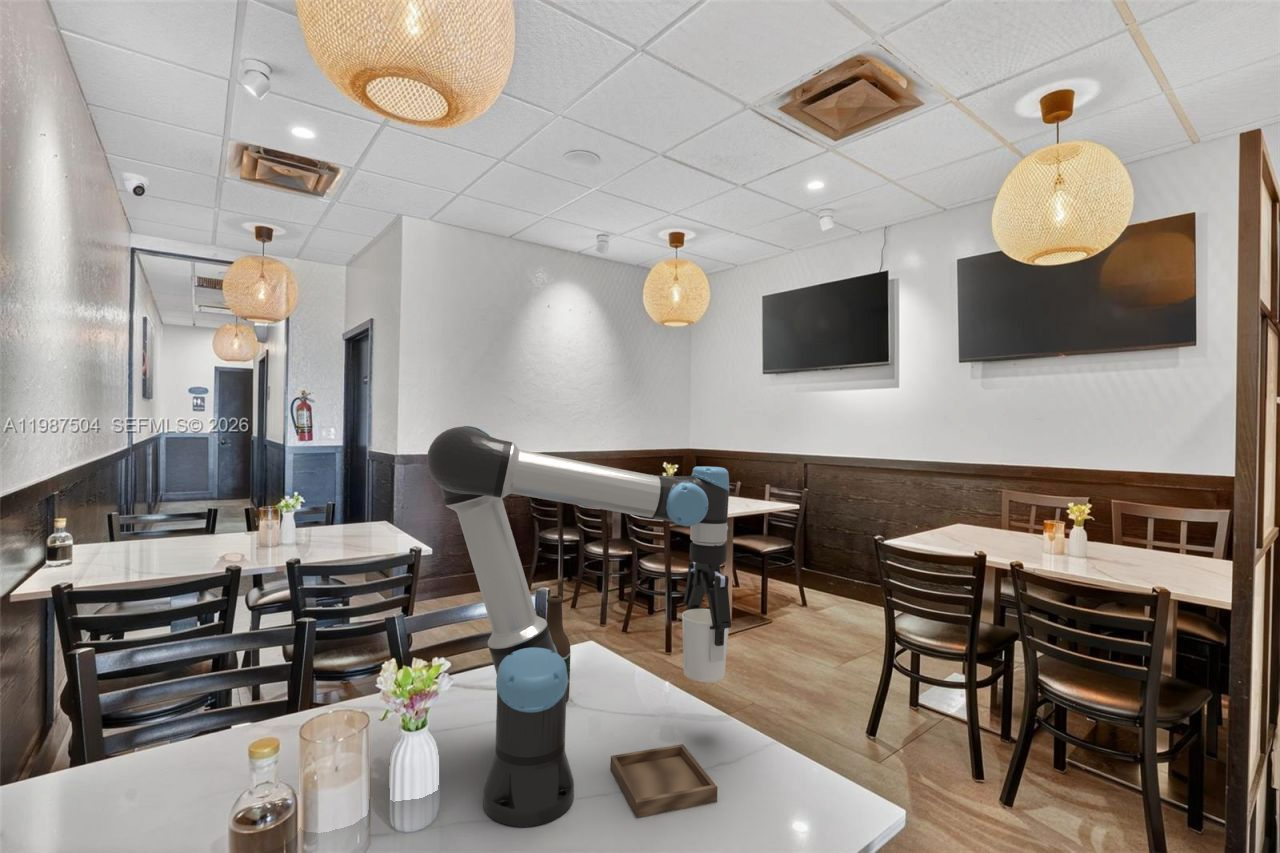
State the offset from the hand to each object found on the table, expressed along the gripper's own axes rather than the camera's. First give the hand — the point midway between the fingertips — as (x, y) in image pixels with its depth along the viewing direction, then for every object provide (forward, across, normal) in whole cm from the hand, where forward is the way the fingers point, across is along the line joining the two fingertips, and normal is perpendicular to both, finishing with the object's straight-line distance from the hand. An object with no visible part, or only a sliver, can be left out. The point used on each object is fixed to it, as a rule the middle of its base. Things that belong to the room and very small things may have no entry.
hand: (704, 651), depth 123 cm
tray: (+18, -12, +14) cm, 26 cm away
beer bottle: (+19, +26, +26) cm, 41 cm away
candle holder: (+5, 0, 0) cm, 5 cm away
